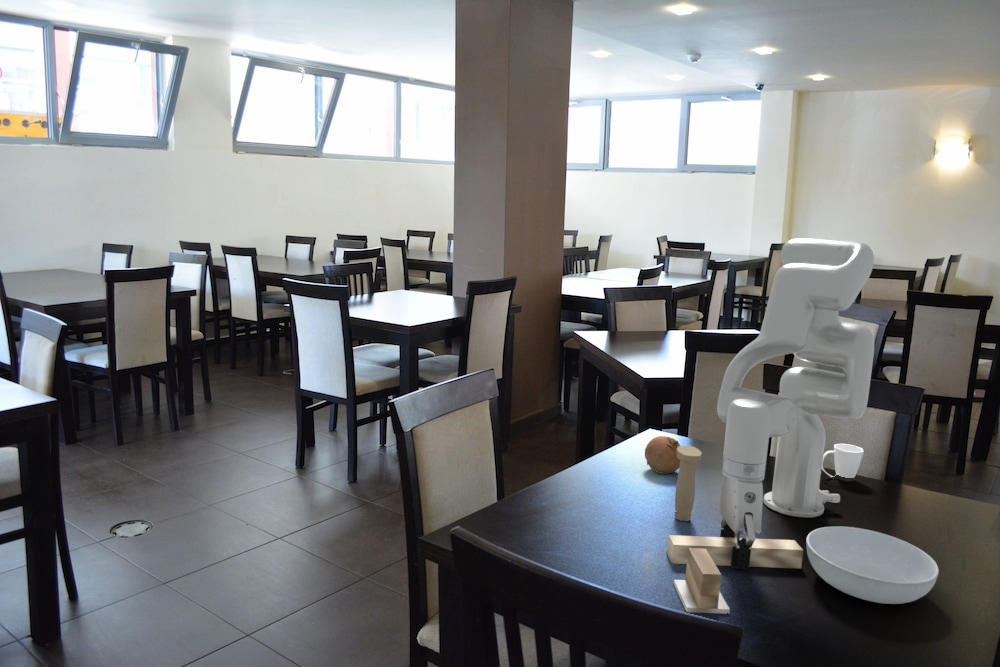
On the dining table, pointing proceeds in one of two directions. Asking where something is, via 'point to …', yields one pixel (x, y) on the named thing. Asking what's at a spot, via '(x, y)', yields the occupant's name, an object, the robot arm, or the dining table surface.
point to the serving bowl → (871, 564)
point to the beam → (721, 548)
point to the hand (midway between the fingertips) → (733, 557)
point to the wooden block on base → (701, 584)
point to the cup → (845, 459)
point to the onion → (662, 455)
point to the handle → (686, 481)
